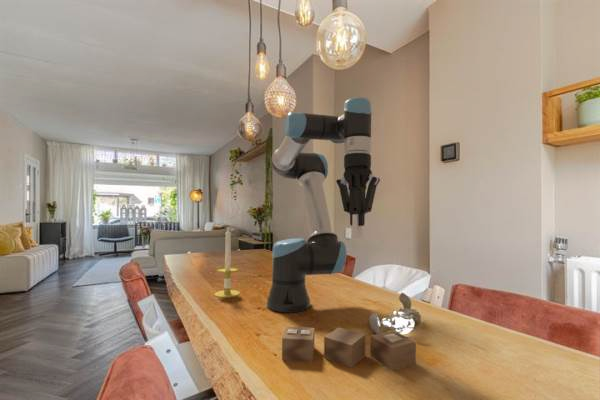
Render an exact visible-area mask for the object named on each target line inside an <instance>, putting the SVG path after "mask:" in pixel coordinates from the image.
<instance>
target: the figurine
mask: <svg viewBox="0 0 600 400" xmlns="http://www.w3.org/2000/svg"><path fill="white" fill-rule="evenodd" d="M409 312H412V311H410V310H409V311H405V312H403V311H400V312H399V311H398V312H397V311H396V310H394V311H393V312H392V314H391V316H390V317H388V318H387V317H384V318H382V319H379V317H378V314H377V312H376V311H373V313H371V314H370V316H369V324H370V327H371V330H372V331H373V332H374V333H375V335H376V334H380V327H384V328H385V329H392V330H393V329H394V331H395V332H397V333H399V334H401V335H406V334H407V335H408V334H409V333H410V332H411V331H413V329H414V328H415V324H414V320H413V319H412V318H413V315H411V316H409V317H408V316H406V314H407V313H409Z"/></svg>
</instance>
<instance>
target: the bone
mask: <svg viewBox="0 0 600 400" xmlns="http://www.w3.org/2000/svg"><path fill="white" fill-rule="evenodd" d="M398 300H399V302H400V303H401V304H402V305H403V308H402V307H400V308H399V310H398V312H400V311H403V312H405V311H409V310H410V311H412V312H409V313H407V314H406V316H408V317H409V316H411V315H413V318H412V319H413V320H414V325H419V324H421V323H422V320H421V314H420V312H419V311H417V309H412V300H411V298H410V297H409V296H408V295H406V293H404V292H401V293H400V295H399V297H398Z"/></svg>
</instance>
